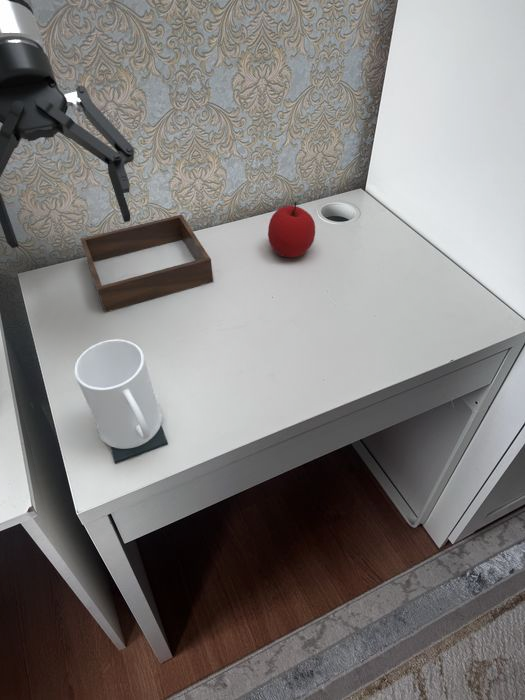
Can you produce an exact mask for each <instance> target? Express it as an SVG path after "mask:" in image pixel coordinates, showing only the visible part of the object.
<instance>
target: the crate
mask: <svg viewBox="0 0 525 700" xmlns="http://www.w3.org/2000/svg"><path fill="white" fill-rule="evenodd" d="M79 240H80V243H81V245H82V248H83V251H84V255H85V258H86V261H87V263H88V264H87V265H88V266H89V269H90V272H91V276H92V278H93V281H94V285H95V286H96V290H97V292H98V295H99V298H100V301H101V304H102V307H103V310H104V312H105V313H108V312H111V311H116V310H119V309H122V308H127V307H129V306H133V305H136V304H140V303H144V302H147V301H150V300H154V299H157V298H161V297H164V296H168V295H171V294H175V293H179V292H183V291H186V290H189V289H193V288H197V287H200V286H203V285H208V284H211V283H213V282H214V275H213V266H212V258H211V257H210V255H209V254H208V252H207V251H206V249H205V248H204V246H203V245H202V243H201V242H200V240H199V239H198V237H197V236H196V234H195V232H194V231H193V230H192V228H191V227H190V225H189V223H188V222H187V221H186V219H185V218H184V216H183V214H178V215H173V216H171V217H166V218H161V219H157V220H153V221H148V222H145V223H141V224H136V225H131V226H128V227H123V228H119V229H116V230H112V231H106V232H102V233H99V234H94V235H89V236H87V237H86V236H85V237H82V238H80V239H79ZM177 241H183V242H184V244H185V246H186V247H187V249H188V250H189V252H190V254H191V256H192V257H193V258H194V260H192V261H188V262H185V263H181V264H177V265H173V266H170V267H166V268H162V269H158V270H155V271H152V272H148V273H144V274H141V275H137V276H132V277H129V278H126V279H122V280H118V281H114V282H110V283H106V284H102V281H101V279H100V277H99V274H98V271H97V268H96V266H95V262H98V261H102V260H106V259H107V260H108V259H110V258H115V257H118V256H123V255H125V254H129V253H133V252H134V253H135V252H138V251H143V250H147V249H150V248H153V247H154V248H155V247H158V246H161V245H166V244H169V243H174V242H177Z"/></svg>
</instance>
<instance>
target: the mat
mask: <svg viewBox="0 0 525 700" xmlns="http://www.w3.org/2000/svg"><path fill="white" fill-rule="evenodd" d="M168 442H169V441H168V439H167V437H166V434H165V431H164V429H163V426H162V425H161V426H160V428H159V430H158V432H157V433H156V434H155V436H154V437H153V438H151V439H150V440H149V441H148V442H146V443H144V444H142V445H140V446H138V447H134V448H130V449H119V448H114V447H112V446H109V447H110V451H111V454H112V458H113V461H114V464H116V465H117V464H120V463H122V462H125V461H127V460H130V459H132V458H135V457H138V456H140V455H144V454H146V453H148V452H152V451H154V450H156V449H159V448H163V447H164V446H167V445H169V443H168Z"/></svg>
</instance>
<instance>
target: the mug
mask: <svg viewBox="0 0 525 700" xmlns="http://www.w3.org/2000/svg"><path fill="white" fill-rule="evenodd" d="M73 373H74V377H75V379H76V381H77V384H78V386H79V388H80V390H81V392H82V395H83V397H84V399H85V401H86V404H87V405H88V407H89V411H90V412H91V414H92V417H93V419H94V421H95V424H96V426H97V431H98V435H99V437H100V439H101V440H102V442H104V443H105V444H106V445H108V446H109V447H110V446H112V447H114V448H119V449H130V448H134V447H138V446H140V445H142V444H144V443H146V442H148V441H149V440H150V439H151V438H153V437H154V436H155V434H156V433H157V432H158V430H159V428H160V426H162V422H163V413H162V410H161V408H160V406H159V404H158V401H157V399H156V394H155V391H154V387H153V384H152V381H151V377H150V374H149V369H148V366H147V362H146V359H145V355H144V353H143V351H142V349H141V348H140V346H138V345H137V344H135V343H134V342H132V341H130V340H125V339H108V340H103V341H100V342H98V343H95V344H92V345H91V346H90V347H88V348H87V349H86V350H84V351H83V352H81V354H80V355H79V357H78V358H77V360H76V362H75V364H74V372H73Z"/></svg>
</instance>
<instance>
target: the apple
mask: <svg viewBox="0 0 525 700" xmlns="http://www.w3.org/2000/svg"><path fill="white" fill-rule="evenodd" d="M315 236H316V224H315V220H314V218H313V217H312V215H311V214H310V213H309V212H308V211H306V210H305V209H304V208H301V207H300V206H297V202H296V201H294V205H287V206H286V205H285V206H283V207H280V208H278V209H277V210H276V211H275V212H274V213H273V214H272V216H271V218H270V219H269V224H268V231H267V238H268V242H269V244H270V246H271V248H272V249H273V250H274V251H275V253H277V254H278V255H279V256H281V257H284V258H298V257H300V256H302V255H304V254H305V253H306V252H307V251H308V250H309V249H310V248H311V247H312V245H313V243H314V241H315Z"/></svg>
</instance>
